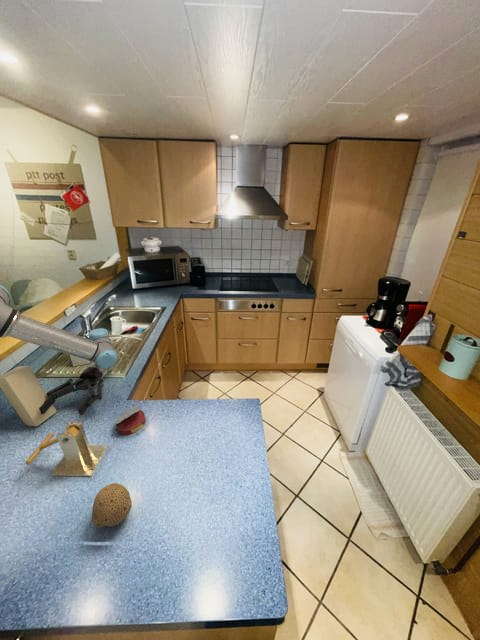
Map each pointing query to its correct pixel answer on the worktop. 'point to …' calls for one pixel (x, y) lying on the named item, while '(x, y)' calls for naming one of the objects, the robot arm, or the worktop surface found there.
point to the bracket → (77, 454)
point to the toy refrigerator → (25, 395)
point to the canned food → (130, 421)
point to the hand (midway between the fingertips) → (60, 411)
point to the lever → (49, 443)
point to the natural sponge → (111, 505)
